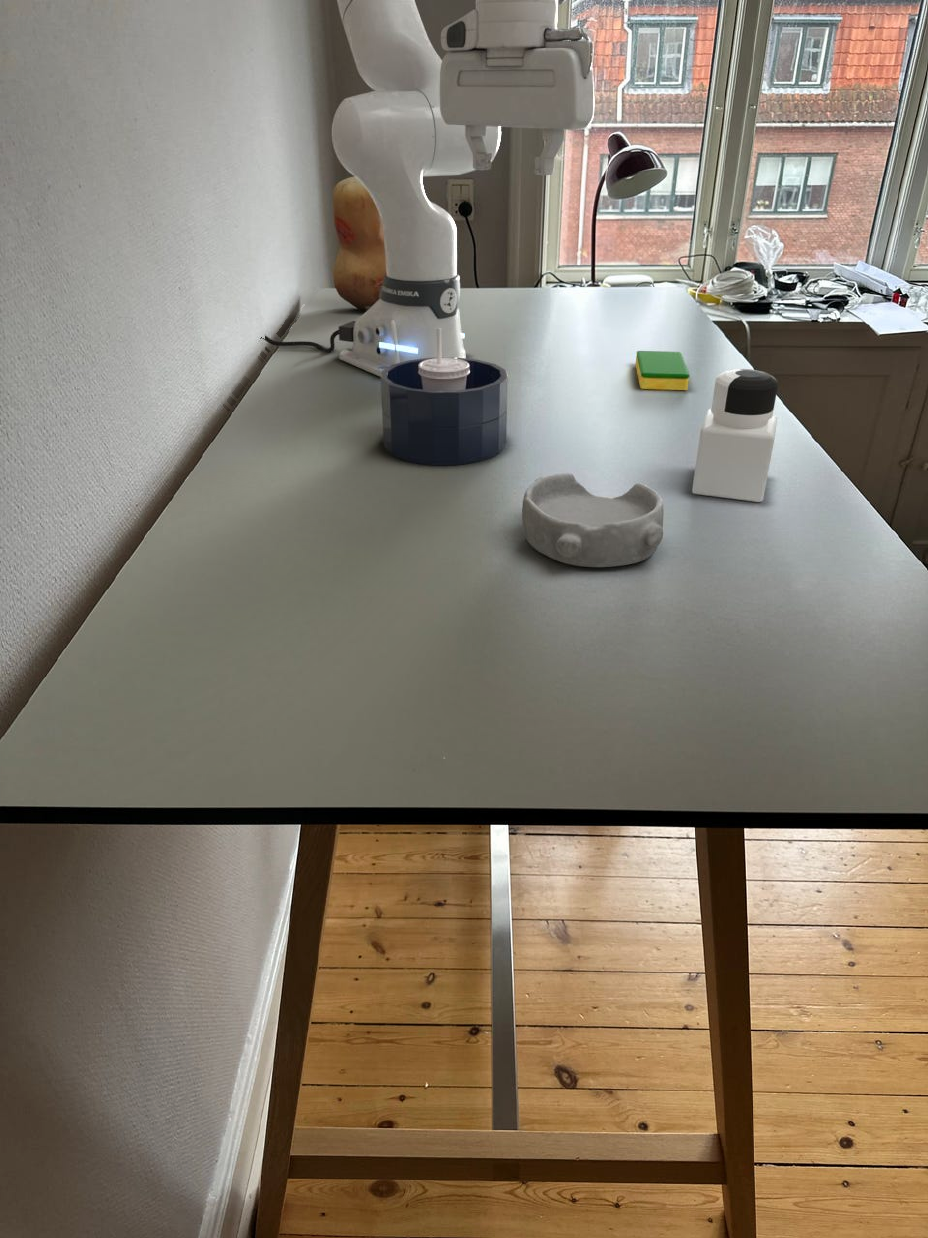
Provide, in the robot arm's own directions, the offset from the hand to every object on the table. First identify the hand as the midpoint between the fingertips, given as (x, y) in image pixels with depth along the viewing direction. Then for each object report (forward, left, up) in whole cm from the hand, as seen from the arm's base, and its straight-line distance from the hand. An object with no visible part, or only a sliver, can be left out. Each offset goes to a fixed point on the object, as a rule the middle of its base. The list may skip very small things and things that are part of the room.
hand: (512, 172), depth 104 cm
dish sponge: (+2, +35, -31) cm, 47 cm away
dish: (+29, -21, -31) cm, 47 cm away
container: (+32, +2, -31) cm, 45 cm away
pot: (-2, -10, -31) cm, 32 cm away
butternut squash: (-69, +37, -31) cm, 84 cm away
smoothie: (-2, -10, -31) cm, 32 cm away
